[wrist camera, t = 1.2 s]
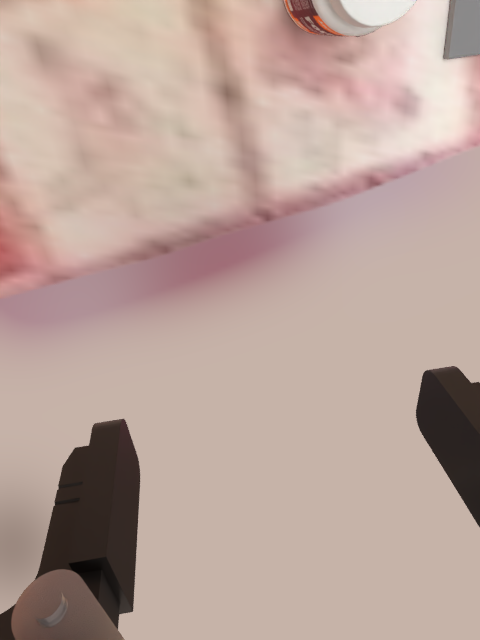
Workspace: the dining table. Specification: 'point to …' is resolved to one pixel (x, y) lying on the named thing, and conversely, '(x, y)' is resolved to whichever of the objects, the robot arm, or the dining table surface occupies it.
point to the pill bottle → (345, 15)
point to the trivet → (463, 29)
